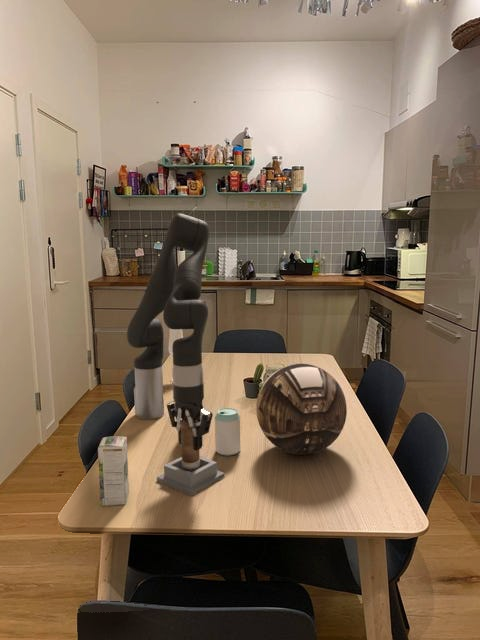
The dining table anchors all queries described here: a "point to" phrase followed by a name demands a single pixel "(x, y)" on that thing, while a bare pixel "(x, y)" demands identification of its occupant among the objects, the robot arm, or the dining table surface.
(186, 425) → the handle
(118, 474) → the syrup box
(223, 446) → the can
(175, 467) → the holder
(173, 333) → the champagne flute
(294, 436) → the sphere
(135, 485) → the dining table surface
